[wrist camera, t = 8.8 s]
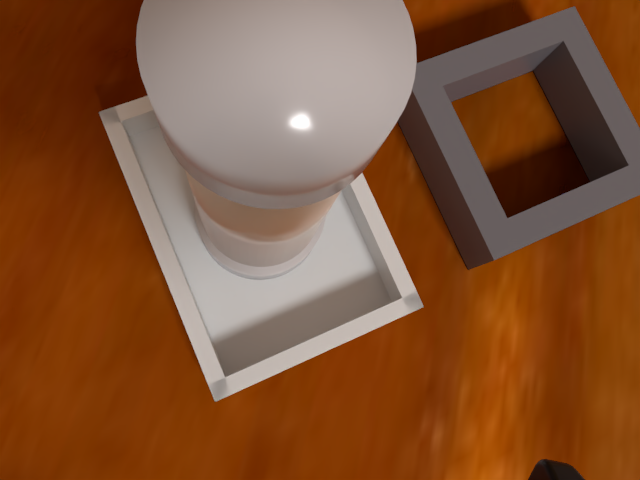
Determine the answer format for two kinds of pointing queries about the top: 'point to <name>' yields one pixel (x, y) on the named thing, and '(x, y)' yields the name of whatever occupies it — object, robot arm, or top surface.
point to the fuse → (273, 112)
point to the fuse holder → (570, 108)
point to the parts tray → (259, 295)
